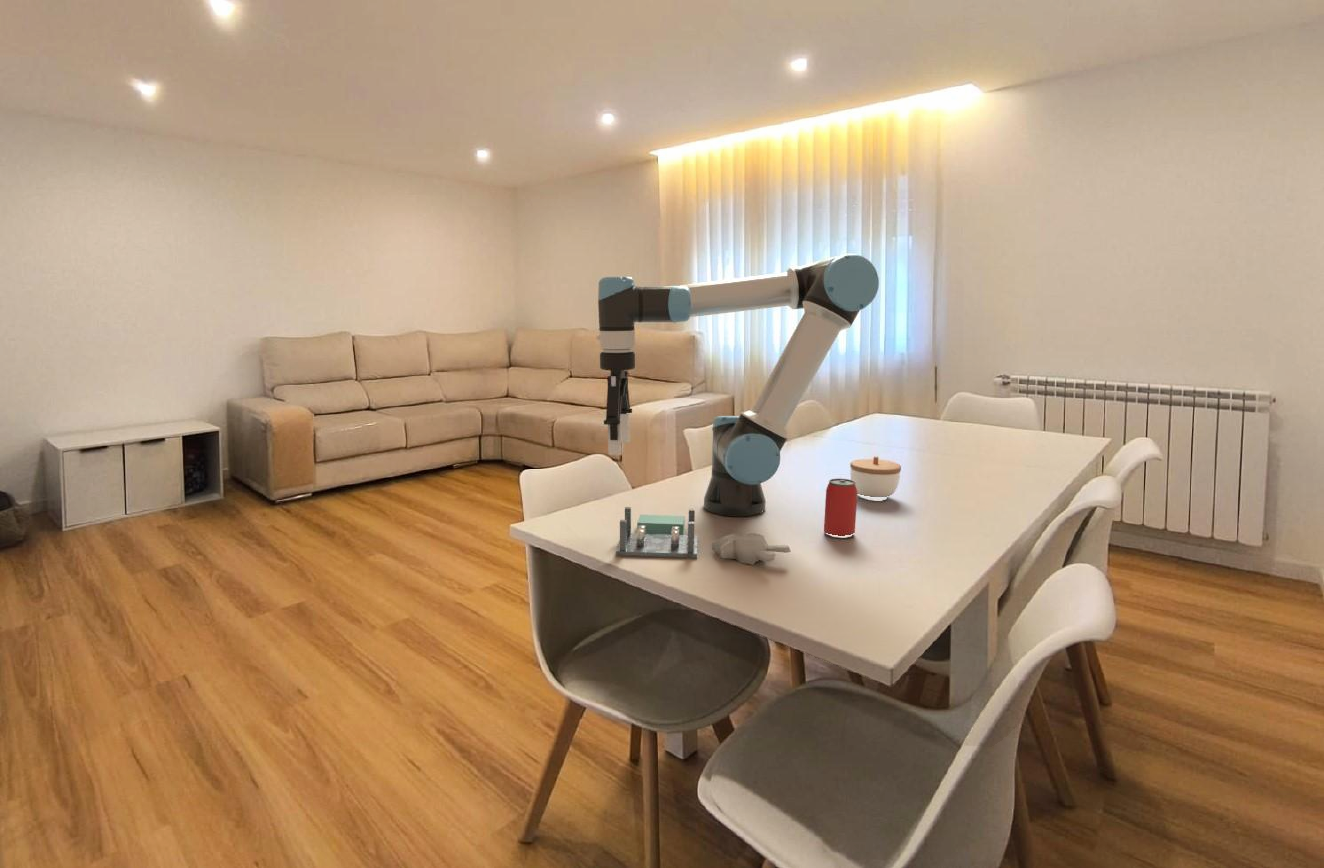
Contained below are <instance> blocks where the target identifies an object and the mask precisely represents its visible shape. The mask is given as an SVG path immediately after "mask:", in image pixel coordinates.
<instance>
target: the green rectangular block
mask: <svg viewBox="0 0 1324 868" xmlns="http://www.w3.org/2000/svg"><path fill="white" fill-rule="evenodd" d="M685 518H686V517H685V515H669V514H668V515H667V514H666V515H665V514H639V517H638V520H637V524H636V526H637V527H636V529H637V530H638V526H640V525H644V526H646V534H664V535H671V531H672V527H674V526H677V527H680V535H685V534H684V533H685V521H686V520H685ZM637 530H636V531H637Z"/></svg>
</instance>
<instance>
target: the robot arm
mask: <svg viewBox="0 0 1324 868" xmlns="http://www.w3.org/2000/svg"><path fill="white" fill-rule="evenodd" d="M879 285H880V279H879V275H878V271H877V270H876V267H875V265H874V264H873V263H872V262H871V261H870V260H869V259H867V258H866V257H864V256H863V255H861V254H856V253H842V254H839V255H835V256H833V257H827V258H823V259H822V260H821V259H820V260H819V261H815V262H811V263H808V264H805V265H801V266H795V267H788V269H787V270H786V271H785V272H782V273H781V272H780V273H771V274H765V275H764V274H763V275H758V276H757V275H756V276H755V275H754V276H747V277H740V278H738V277H737V278H730V279H723V280H722V279H721V280H715V281H713V280H712V281H706V282H696V283H689V284H681V285H667V286H666V285H662V286H658V285H657V286H656V285H655V286H637V285H635V282H634V279H633V277H631V276H606V277H605V276H604V277H602V278H600V280H599V281H598V290H597V291H598V292H597V293H598V295H597V299H598V300H597V303H598V307H597V308H598V326H599V328H598V329H599V330H598V331H599V334H598V335H597V336H596V339H597V340H598V341H599V348H600V350H602V351H600V353H599V367H600V369H601V370H603V371H610V374H609V376H607V379H606V381H607V393H606V412H605V415H606V416H605V420H603V425H605V426H607V454H608V455H609V456H622V454H623V453H622V452H623V451H622V443H630V414H632V413H633V408H631V403H630V395H629V378H628V371H631V370H633V369H634V370H635V367H636V353H635V351H633V350H634V349H636V331H635V323H673V324H677V323H681V322H684V323H686V322H688V321H689V320H690V318H696V317H703V316H704V317H705V316H711V315H720V314H728V313H738V312H745V311H746V312H747V311H755V310H764V309H770V308H777V307H779V308H780V307H789V308H790V309H791V310H797V309H798V310H801V309H804V312H803V315H802V317H801V319H800V320H799V322H798V324H797V326H796V328H795V330H794V331H793V333H792V335H791V337H790V338H789V340H788V342H787V344H786V346H785V348H784V349H783V351H782V353H781V355H780V356H779V359H778V360H777V362H776V364H775V366H774V367H773V369H772V371H771V373H770V374H769V377H768V378H767V380H766V382H765V384H764V386H763V387H762V389H761V391H760V392H759V395H758V397H756V400H755V402H754V403H753V406H752V407H751V408H750V409H749V410H745V411H742V412H741V413H740V415H719V416H716V417H714V419H713V423H712V427H711V428H712V429H711V430H712V446H711V447H712V448H711V450H712V453H711V454H712V455H711V477H710V480H709V483H708V485H707V488H706V492H705V494H704V497H703V508H704V509H705V510H706V511H708V512H709V513H712V514H714V515H715V514H716V515H719V516H727V517H751V515H752V516H757V515H759V514H758V513H760V514H762V513H763V512H762V511H764V510H765V511H766V497H765V494H764V491H763V487H762V483H766V482H767V481H769V480H770V479H771V478H772V477H774V476H775V474H776V473H777V472H778V469H779V467H780V464H781V451H782V450H783V447H784V445H785V443H786V442H787V441H788V438H789V435H788V432H787V426H788V424H789V422H790V421H791V419H792V417H793V415H794V414H795V412H796V410H797V408H798V407H799V405H800V404H801V401H802V399H803V398H804V396H805V394H806V392H807V390H808V389H809V386H810V385H811V383H812V382H813V380H814V378H815V376H816V374H817V372H818V371H819V369H820V367H821V366H822V364H823V362H824V361H825V358H826V357H827V355H828V354H829V351H830V350H831V349H832V346H833V344H834V343H835V341H836V339H837V337H838V335H839V333H840V332H841V331H843V330H846V329H849V328H851V327H852V325H853V323H854V322H855V319H856V318H857V316H858V314H859V312H860V311H862V310H863V309H865V308H866V307H868V306H869V305H870V304H871V303H872V302H873V301H874V300H875V298H876V296H877V293H878V290H879ZM765 511H764V512H765ZM761 512H762V513H761ZM756 514H757V515H756Z"/></svg>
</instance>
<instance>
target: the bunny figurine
mask: <svg viewBox="0 0 1324 868" xmlns="http://www.w3.org/2000/svg"><path fill="white" fill-rule="evenodd" d="M711 549H712V551H713V550H714V551H715V553H716V554H717V556H719V557H720V558H723V559H733V560H736V561H738V562H739V563H742V564H749V565H750V564H751V566H753V565H754V564H755V563H756V562H760V561H759V560H762V561H763V562H773V561H774V560H775V556H776V553H785V554H786V553H791V552H792V551H791V548H790V545H787V544H786V545H785V544H773V545H770V544H768V542H767V540H766V538H765V536H764V535H762V534H759V533H748V534H743V535H738V534H737V533H730V534H728V535H725V536H722V537H720V538H717V539H716V540H714V541H711ZM773 552H776V553H773Z"/></svg>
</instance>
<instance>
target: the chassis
mask: <svg viewBox="0 0 1324 868" xmlns="http://www.w3.org/2000/svg"><path fill="white" fill-rule="evenodd" d="M695 511H696V510H695V508H688V522H687V534H683V535H680V527H677V526H674V527H672V531H671V535H664V534H646V526H644V525H640V526H638V530H636V533H632V507H631V506H625V507H624V519H620V520H619V542H618V544H617V547H616V550H615V557H628V558H629V557H630V558H632V557H635V558H659V559H660V558H664V559H688V560H689V559H694V560H697V559H698V535H695V517H696V516H695V514H696V513H695Z"/></svg>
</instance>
